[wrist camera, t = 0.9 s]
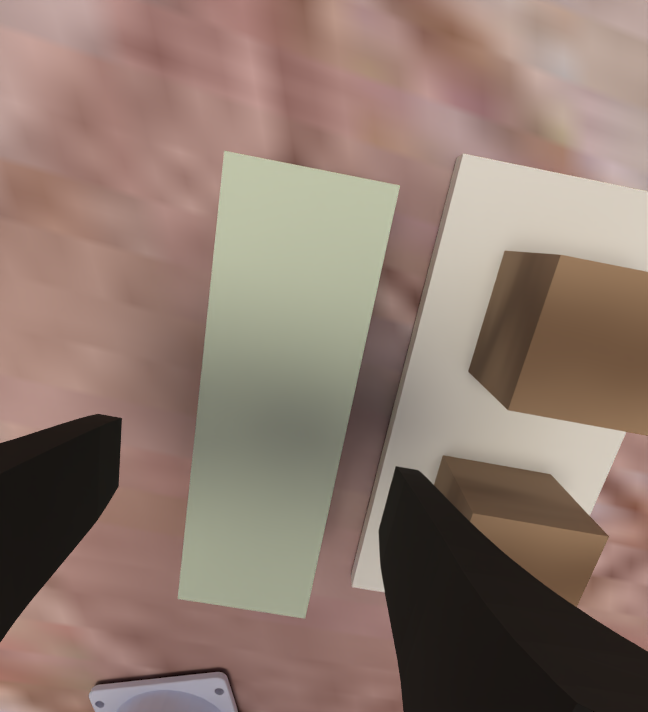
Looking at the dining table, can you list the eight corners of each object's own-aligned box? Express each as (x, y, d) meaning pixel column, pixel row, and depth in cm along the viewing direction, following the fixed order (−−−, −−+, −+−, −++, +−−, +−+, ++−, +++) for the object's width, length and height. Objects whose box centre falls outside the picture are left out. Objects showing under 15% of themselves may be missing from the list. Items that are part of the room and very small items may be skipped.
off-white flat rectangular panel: (537, 605, 21) (545, 618, 21) (351, 574, 21) (351, 586, 20) (705, 208, 16) (724, 207, 15) (456, 158, 16) (463, 153, 15)
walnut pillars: (515, 562, 20) (560, 641, 16) (415, 546, 20) (436, 621, 16) (628, 274, 16) (723, 286, 12) (504, 250, 16) (560, 254, 12)
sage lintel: (310, 530, 21) (305, 618, 16) (213, 514, 21) (177, 598, 16) (379, 200, 16) (400, 185, 12) (255, 176, 16) (224, 150, 11)
